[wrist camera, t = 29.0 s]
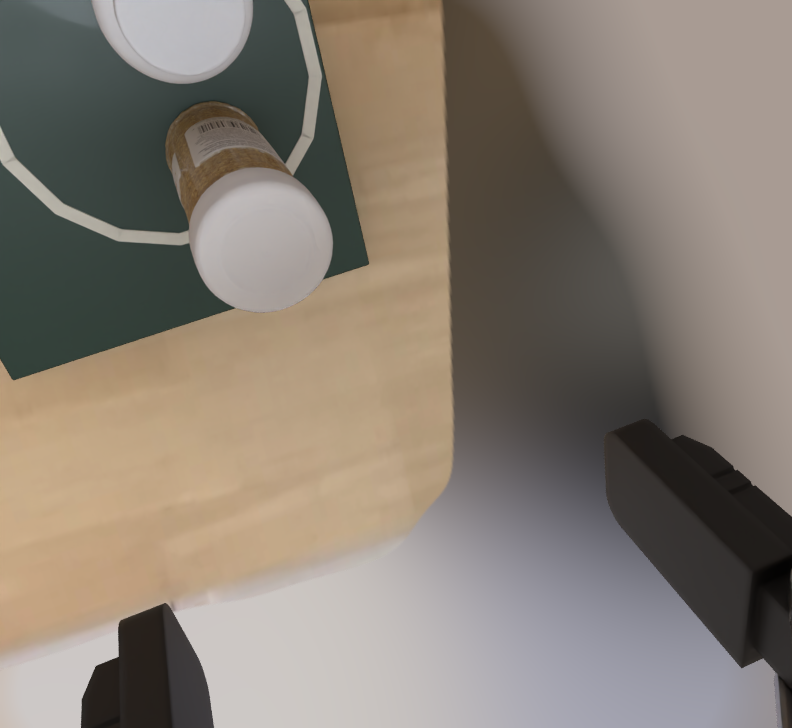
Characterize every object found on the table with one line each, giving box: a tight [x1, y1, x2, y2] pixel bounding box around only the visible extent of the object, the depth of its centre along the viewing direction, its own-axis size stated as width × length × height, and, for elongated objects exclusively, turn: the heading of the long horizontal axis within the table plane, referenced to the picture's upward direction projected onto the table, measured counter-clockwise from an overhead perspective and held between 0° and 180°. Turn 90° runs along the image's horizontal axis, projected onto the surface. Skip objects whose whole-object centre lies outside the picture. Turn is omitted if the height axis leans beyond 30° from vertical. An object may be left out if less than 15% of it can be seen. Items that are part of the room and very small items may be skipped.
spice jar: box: [165, 101, 333, 313], centre depth 30 cm, size 5×5×14 cm
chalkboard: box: [0, 0, 369, 380], centre depth 34 cm, size 19×19×1 cm
